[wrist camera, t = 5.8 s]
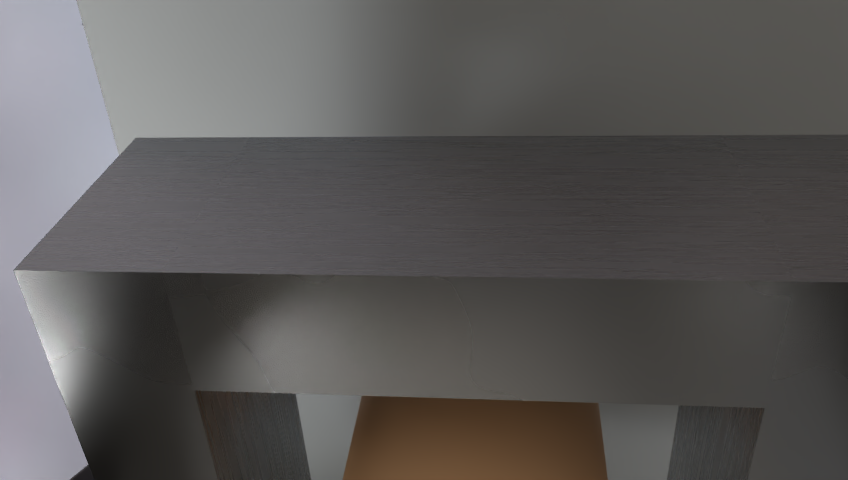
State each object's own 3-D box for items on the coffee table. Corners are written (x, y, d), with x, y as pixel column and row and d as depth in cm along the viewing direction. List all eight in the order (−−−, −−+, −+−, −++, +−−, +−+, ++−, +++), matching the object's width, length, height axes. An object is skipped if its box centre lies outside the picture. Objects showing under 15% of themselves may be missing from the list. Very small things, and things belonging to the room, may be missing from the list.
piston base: (771, 502, 14) (895, 880, 10) (225, 478, 15) (98, 809, 11) (932, -101, 9) (1380, 91, 4) (82, -72, 10) (-295, 106, 5)
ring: (737, 595, 11) (785, 785, 9) (249, 568, 12) (194, 739, 10) (853, 134, 8) (978, 284, 6) (135, 138, 8) (13, 269, 6)
